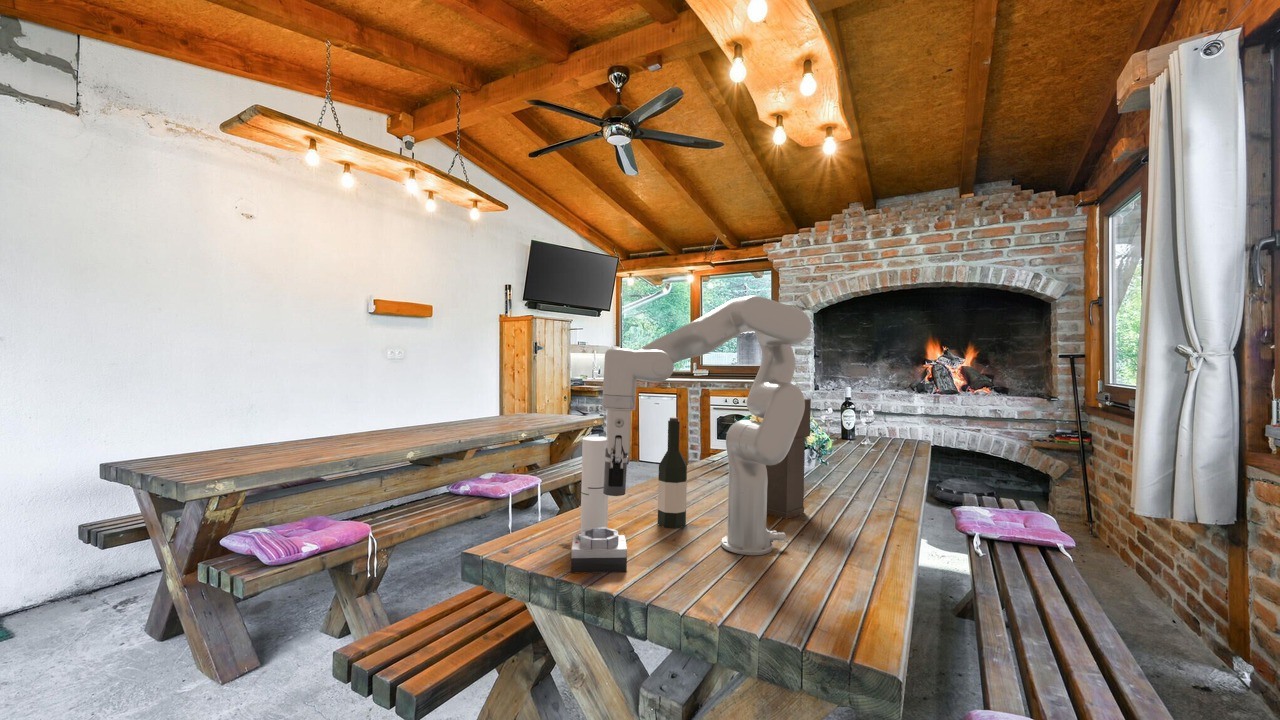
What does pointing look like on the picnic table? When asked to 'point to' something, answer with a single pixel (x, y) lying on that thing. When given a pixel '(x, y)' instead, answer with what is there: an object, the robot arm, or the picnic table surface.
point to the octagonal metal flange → (599, 551)
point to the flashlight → (607, 489)
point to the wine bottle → (672, 482)
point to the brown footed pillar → (789, 475)
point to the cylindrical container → (593, 483)
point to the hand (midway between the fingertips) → (614, 482)
